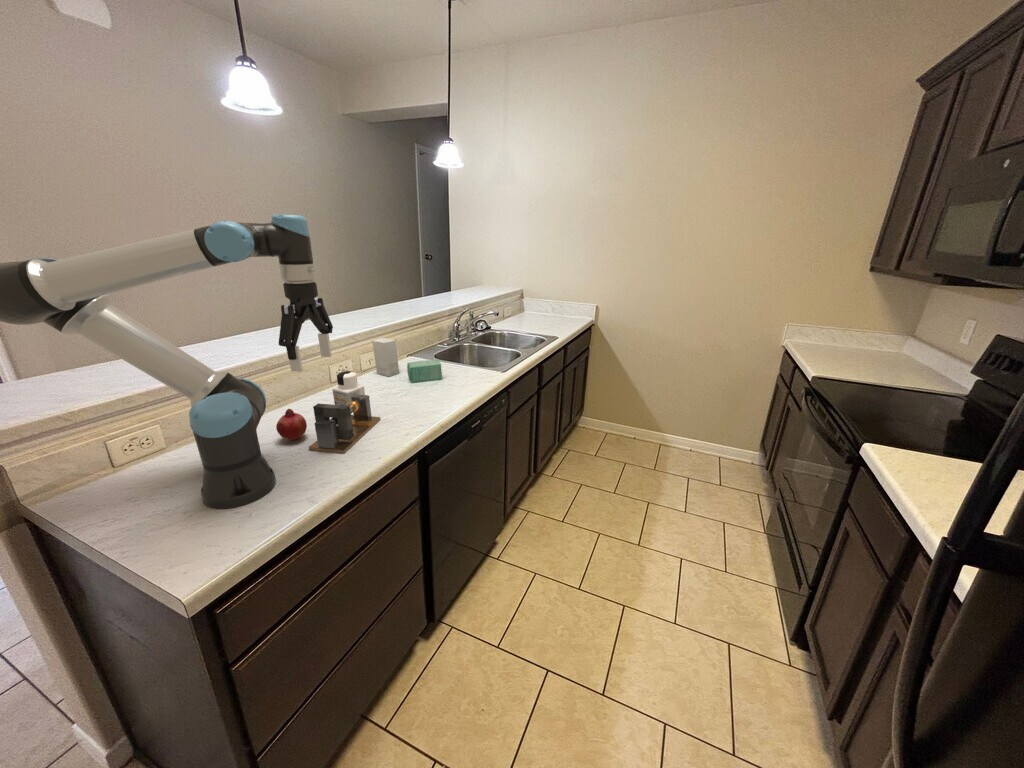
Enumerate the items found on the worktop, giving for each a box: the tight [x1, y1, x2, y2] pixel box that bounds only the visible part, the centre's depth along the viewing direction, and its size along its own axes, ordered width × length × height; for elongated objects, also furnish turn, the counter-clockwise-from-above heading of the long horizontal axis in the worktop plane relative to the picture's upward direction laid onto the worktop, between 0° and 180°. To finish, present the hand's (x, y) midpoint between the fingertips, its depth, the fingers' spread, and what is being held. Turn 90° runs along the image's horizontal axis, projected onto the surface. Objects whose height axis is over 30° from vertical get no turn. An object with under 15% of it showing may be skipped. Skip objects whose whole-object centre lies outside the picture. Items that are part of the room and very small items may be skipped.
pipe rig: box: [308, 394, 381, 455], centre depth 127 cm, size 23×11×9 cm, turn 171°
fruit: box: [275, 408, 308, 441], centre depth 124 cm, size 8×8×10 cm
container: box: [332, 370, 366, 406], centre depth 147 cm, size 8×8×13 cm
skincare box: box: [371, 337, 400, 378], centre depth 181 cm, size 8×7×16 cm
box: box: [406, 358, 443, 384], centre depth 177 cm, size 7×14×8 cm, turn 113°
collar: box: [312, 402, 354, 440], centre depth 121 cm, size 2×10×10 cm, turn 81°
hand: (312, 363), depth 110 cm, fingers open, 12 cm apart
